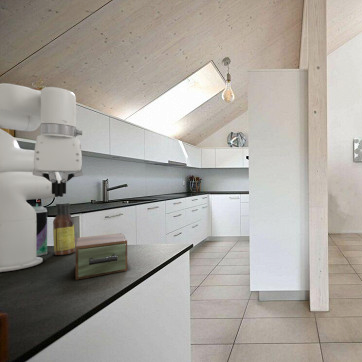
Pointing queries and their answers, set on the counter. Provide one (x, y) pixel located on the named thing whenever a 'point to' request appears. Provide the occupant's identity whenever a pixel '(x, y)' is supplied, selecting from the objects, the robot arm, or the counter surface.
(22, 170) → the robot arm
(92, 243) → the cabinet
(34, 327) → the counter surface
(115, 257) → the drawer
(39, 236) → the spray can
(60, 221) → the sauce bottle
